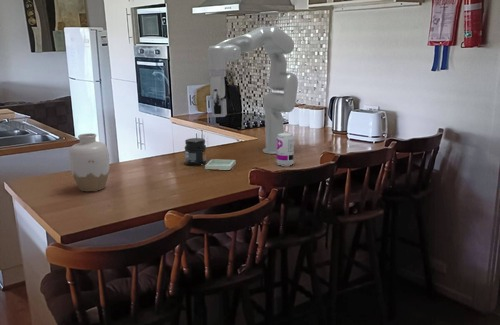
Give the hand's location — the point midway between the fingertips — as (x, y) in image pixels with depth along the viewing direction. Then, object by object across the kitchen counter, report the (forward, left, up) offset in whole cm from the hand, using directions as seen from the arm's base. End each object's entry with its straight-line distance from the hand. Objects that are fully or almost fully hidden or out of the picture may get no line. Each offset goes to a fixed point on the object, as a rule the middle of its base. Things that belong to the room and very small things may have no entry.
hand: (219, 112), depth 226 cm
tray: (0, 0, -26) cm, 26 cm away
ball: (+1, -1, +6) cm, 6 cm away
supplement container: (-6, -14, -27) cm, 31 cm away
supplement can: (-9, +30, -27) cm, 41 cm away
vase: (+40, -45, -27) cm, 66 cm away
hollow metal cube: (0, 0, -2) cm, 2 cm away
